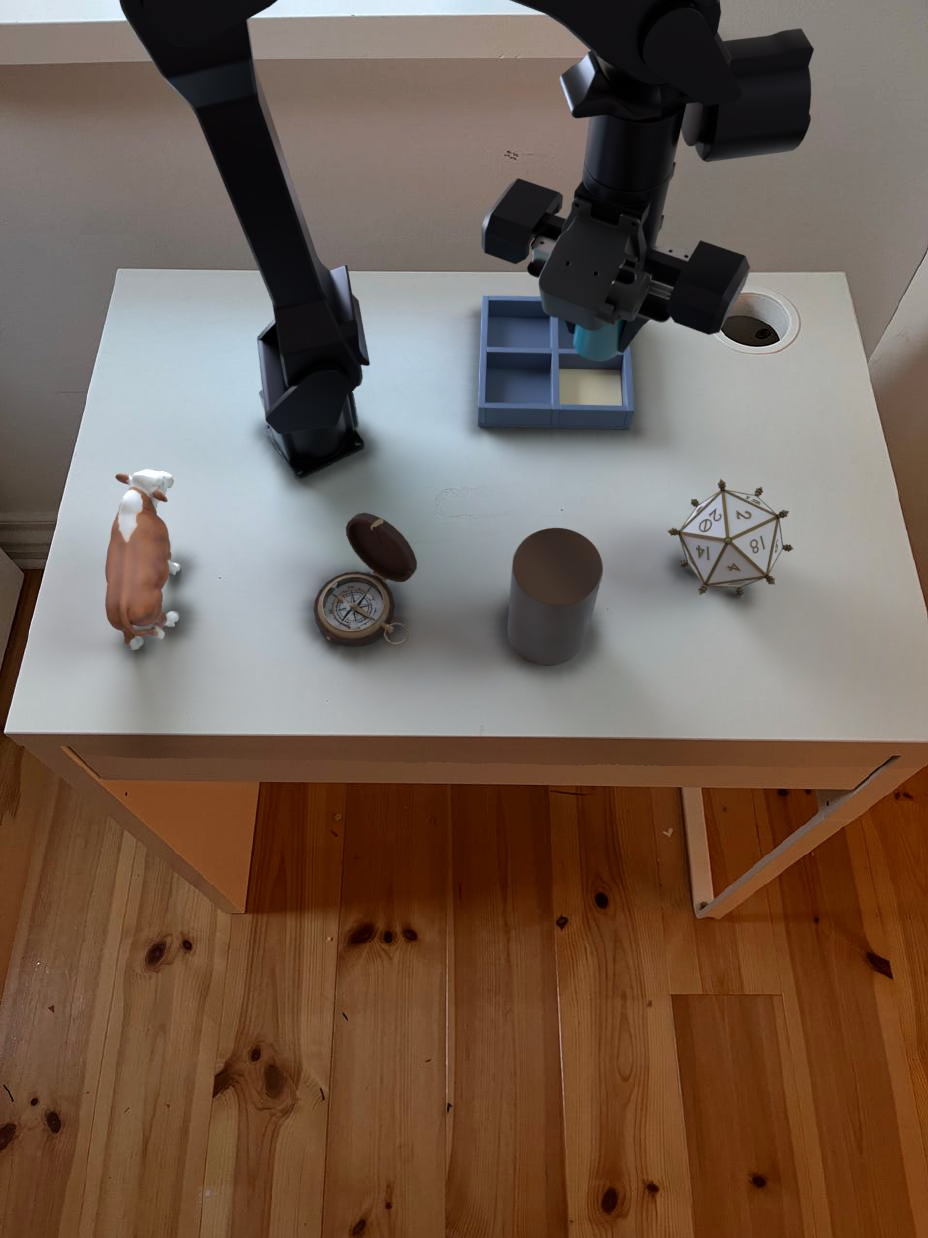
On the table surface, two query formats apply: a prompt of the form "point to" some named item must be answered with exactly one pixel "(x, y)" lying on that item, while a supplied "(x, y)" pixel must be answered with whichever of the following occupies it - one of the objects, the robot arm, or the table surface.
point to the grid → (545, 372)
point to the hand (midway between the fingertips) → (598, 339)
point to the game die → (732, 539)
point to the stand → (553, 595)
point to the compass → (366, 584)
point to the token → (599, 341)
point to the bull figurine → (139, 559)
